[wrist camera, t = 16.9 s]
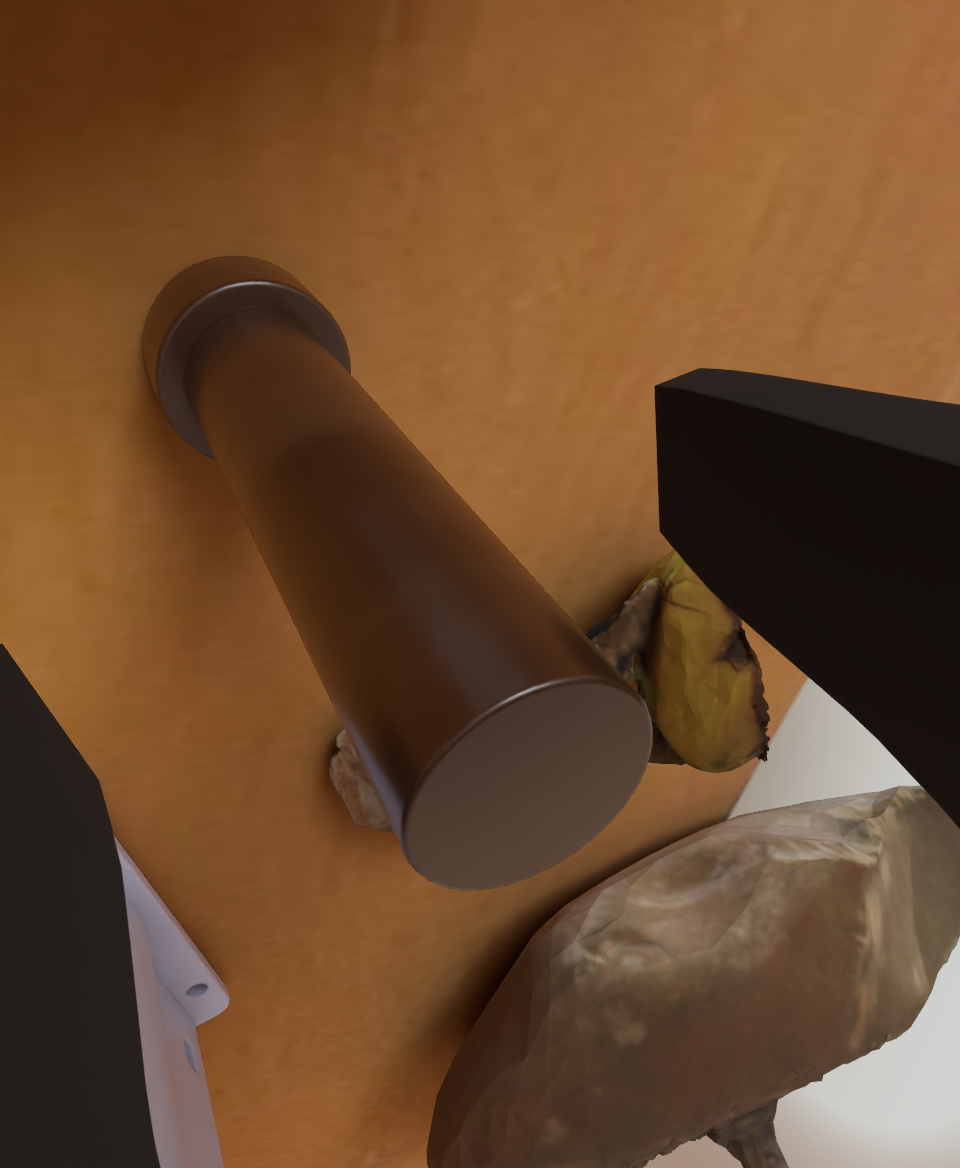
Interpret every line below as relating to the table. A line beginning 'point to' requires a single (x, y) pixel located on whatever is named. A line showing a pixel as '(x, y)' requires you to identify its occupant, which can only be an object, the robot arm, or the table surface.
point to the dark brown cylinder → (397, 589)
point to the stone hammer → (708, 988)
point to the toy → (653, 682)
